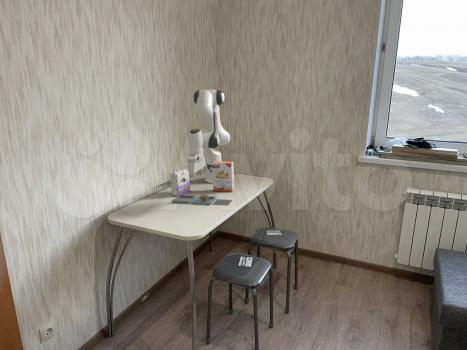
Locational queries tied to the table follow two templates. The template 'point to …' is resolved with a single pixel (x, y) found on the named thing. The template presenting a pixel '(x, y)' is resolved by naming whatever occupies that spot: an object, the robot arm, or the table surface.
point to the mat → (222, 202)
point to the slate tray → (198, 201)
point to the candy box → (180, 182)
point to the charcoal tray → (184, 199)
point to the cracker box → (223, 176)
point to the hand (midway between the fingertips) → (197, 176)
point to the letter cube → (204, 198)
